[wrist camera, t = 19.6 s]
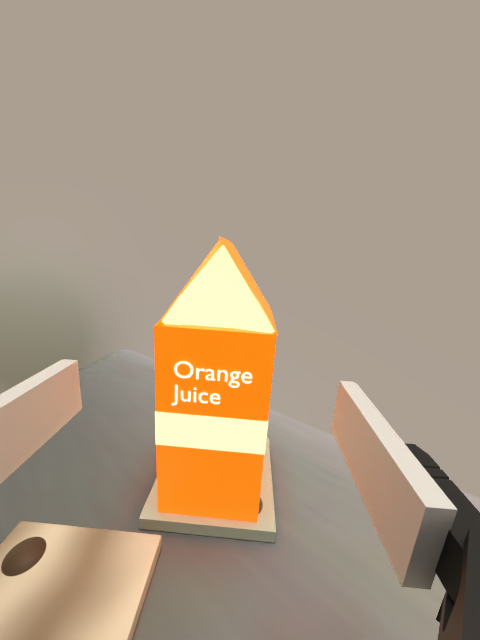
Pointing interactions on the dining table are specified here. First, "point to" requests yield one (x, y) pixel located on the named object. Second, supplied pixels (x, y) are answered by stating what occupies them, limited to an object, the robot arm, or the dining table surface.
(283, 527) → the dining table surface
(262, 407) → the orange juice
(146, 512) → the tile two
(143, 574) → the tile one
